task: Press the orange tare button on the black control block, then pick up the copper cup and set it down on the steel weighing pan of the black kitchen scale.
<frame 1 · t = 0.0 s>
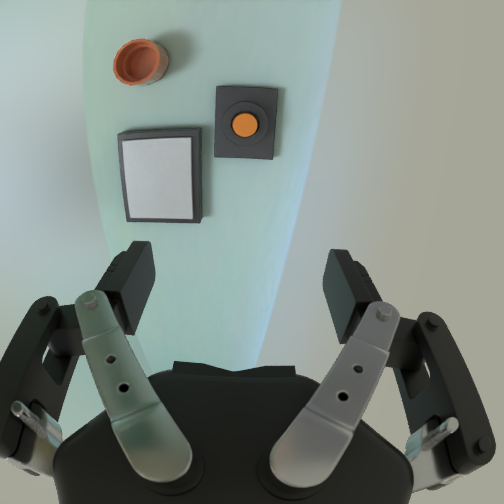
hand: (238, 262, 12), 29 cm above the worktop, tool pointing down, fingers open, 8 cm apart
copper cup: (147, 64, 30), on the worktop
tare button: (245, 124, 33), point 4 cm above the worktop, slide at 0.1 cm
control block: (245, 121, 36), on the worktop
scale: (162, 174, 39), on the worktop
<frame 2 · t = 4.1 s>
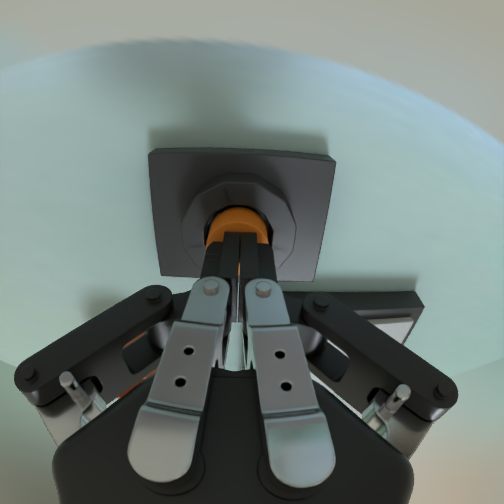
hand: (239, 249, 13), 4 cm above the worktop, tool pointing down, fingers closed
tare button: (237, 241, 14), point 3 cm above the worktop, slide at 0.0 cm, touching gripper
control block: (239, 213, 17), on the worktop
scale: (325, 342, 24), on the worktop
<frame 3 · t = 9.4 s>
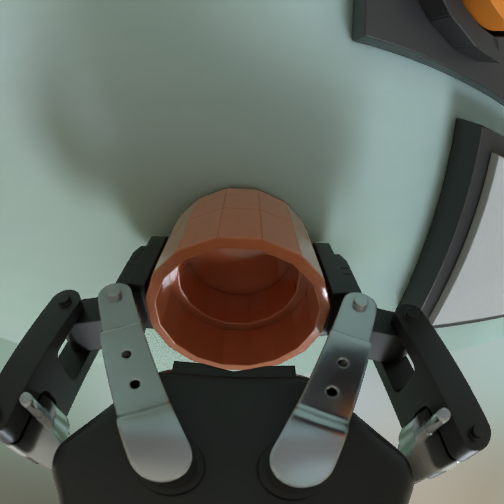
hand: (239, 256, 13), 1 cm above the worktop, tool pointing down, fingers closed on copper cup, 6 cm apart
copper cup: (239, 248, 13), on the worktop, touching gripper
control block: (446, 6, 6), on the worktop
scale: (499, 234, 13), on the worktop
when the fingers open (3 cm above the worktop, at t = 16.3 s): copper cup stays where it is, resting on scale.
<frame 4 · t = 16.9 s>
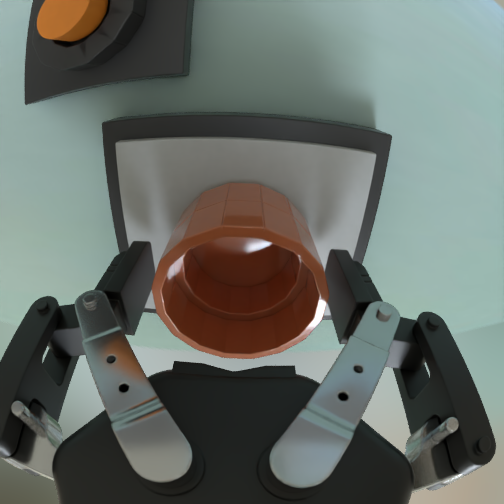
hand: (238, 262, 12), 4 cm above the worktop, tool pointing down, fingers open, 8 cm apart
copper cup: (242, 241, 14), point 3 cm above the worktop, touching scale
tare button: (71, 11, 6), point 4 cm above the worktop, slide at 0.1 cm
control block: (105, 22, 9), on the worktop
scale: (242, 218, 16), on the worktop
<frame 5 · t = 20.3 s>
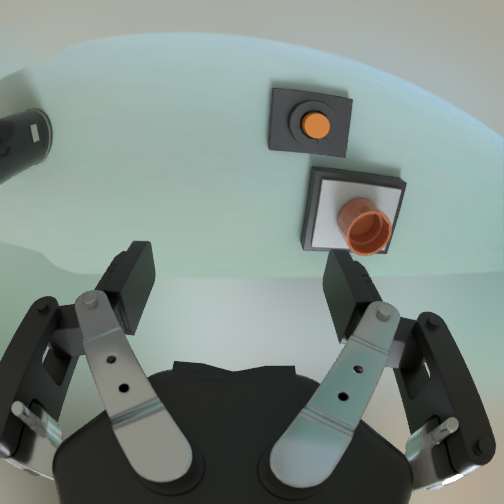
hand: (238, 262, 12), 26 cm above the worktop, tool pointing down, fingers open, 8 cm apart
copper cup: (358, 218, 37), point 3 cm above the worktop, touching scale
tare button: (315, 125, 30), point 4 cm above the worktop, slide at 0.1 cm
control block: (309, 121, 33), on the worktop
scale: (351, 210, 39), on the worktop
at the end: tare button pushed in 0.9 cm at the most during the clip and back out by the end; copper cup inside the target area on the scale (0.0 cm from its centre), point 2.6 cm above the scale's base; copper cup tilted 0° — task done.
